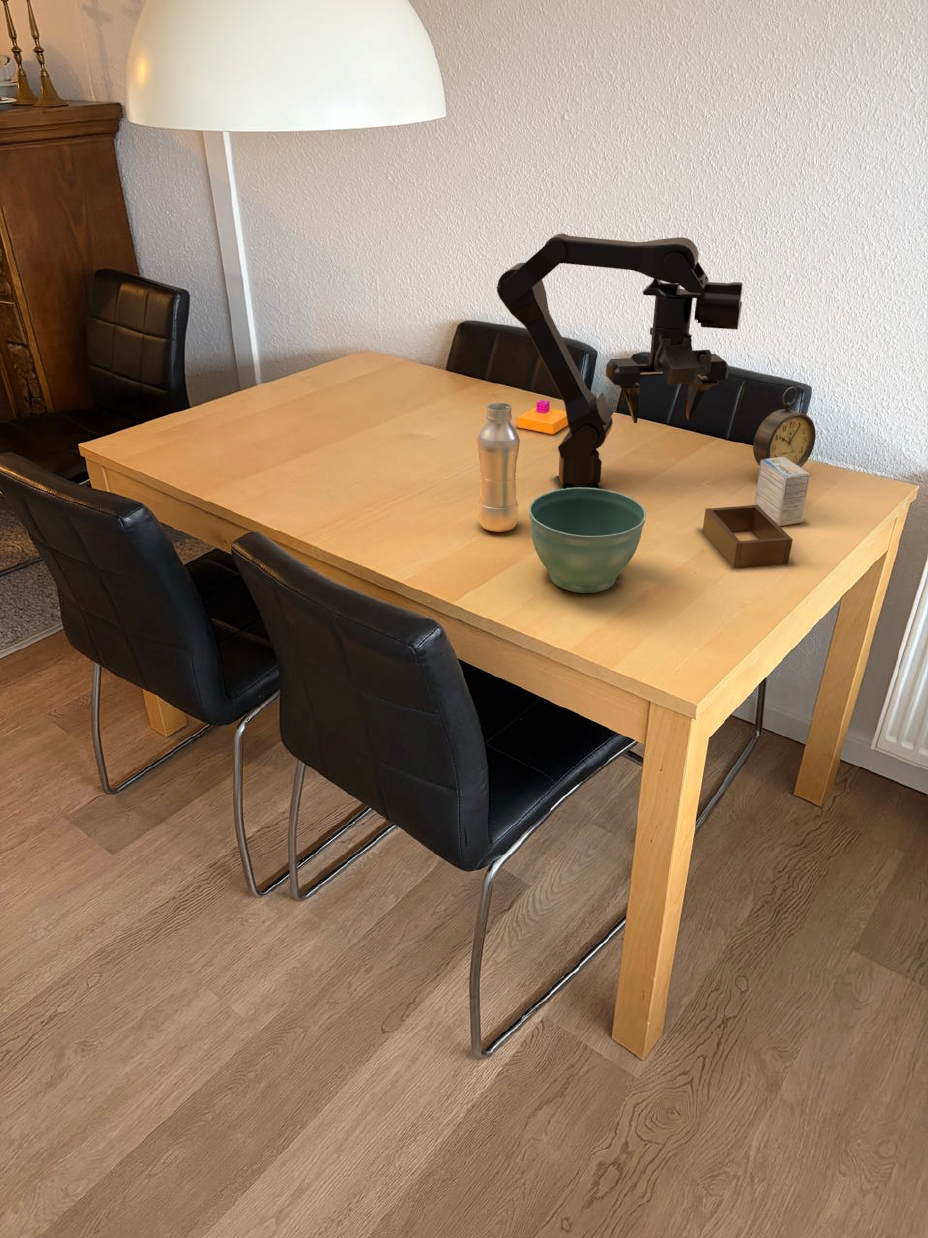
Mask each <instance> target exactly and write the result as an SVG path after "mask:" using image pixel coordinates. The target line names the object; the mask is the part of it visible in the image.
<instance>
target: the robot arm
mask: <svg viewBox="0 0 928 1238" xmlns="http://www.w3.org/2000/svg"><path fill="white" fill-rule="evenodd" d="M699 254H700V253H699V250H698V246H696V244H695V243H694V241H693V240H692V239H689V238H687V237H685V236H684V237H683V236H682V237H681V236H680V237H668V238H667V237H666V238H660V239H659V238H658V239H653V240H646V241H630V240H629V241H628V240H620V239H619V240H618V239H608V238H597V237H586V236H577V235H575V236H574V235H569V234H566V233H557V234H555V235H553V236H552V237H550V238H549V239H548V240H547V241H545V244H544V245H543V246H542V248H539V250H538V251H537V252H535V253H534V255H533V256H531V257H530V258H529V259H528V260H527V261H525V262H519V263H516V264H514V265H512V266H511V267H510V268H509V269H508V270H506V271H505V272H503V273H502V274H501V275H500V277H499V279H498V282H497V286H496V292H497V295H498V298H499V300H500V301H501V302H502V303H503V305H504V307H506V308H507V310H508V311H509V313H510V314H511V315H512V316H513V317H514V318H515V319H516V320H517V321H518V322H519V323H520V324H522V325H523V326H524V327H525V329H526V331H527V333H528V335H529V337H530V339H531V340H532V342H533V345H534V347H535V348H536V350H537V352H538V354H539V356H540V359H541V360H542V362H543V364H544V366H545V368H546V370H547V372H548V374H549V375H550V378H551V380H552V381H553V384H554V386H555V388H556V389H557V392H558V393H559V395H560V398H561V400H562V402H563V403H564V408H565V411H566V416H567V422H568V425H567V426H568V429H569V430H568V431H567V433H566V434H565V436H564V437H563V439H562V440H561V442H560V443H559V445H558V447H557V449H558V453H559V460H558V475H556V476H555V480H556V482H557V483H558V485H559V487H560V489H566V488H578V487H581V488H597V489H601V486H600V483H601V478H602V477H601V476H602V460H601V458H600V452H599V451H598V449H599V448H600V447H602V445H603V444H604V443H605V442H606V439H607V438H608V436H609V434H610V432H611V430H612V428H613V424H614V423H613V417H612V416H613V415H614V411H613V410H612V409H611V408H610V406H609V404H608V403H607V400H606V396H605V394H604V392H600V393H599V394H597V395H595V394H594V393H593V392H592V391H591V390H589V388H588V387H587V385H586V383H585V381H584V379H583V376H582V375H581V372H580V371H579V369H578V367H577V365H576V363H575V361H574V359H573V357H572V355H571V353H570V351H569V349H568V347H567V345H566V343H565V341H564V339H563V337H562V335H561V334H560V331H559V330H558V329H559V328H558V327H557V326H556V323H555V321H554V319H553V317H552V314H551V312H550V310H549V309H550V308H549V302H548V296H547V291H546V287H545V285H544V281H543V279H544V278H545V277H546V276H548V275H549V274H550V273H551V272H552V271H554V269H555V268H557V267H558V266H559V265H560V264H561V265H562V264H567V265H576V266H584V267H585V266H587V267H594V268H595V267H596V268H604V269H605V268H606V269H616V270H625V271H632V272H637V273H640V274H642V275H645V276H646V277H649V278H651V279H652V281H651V282H650V284H648V285H646V286H645V288H644V289H643V290H642V294H643V296H652V297H654V310H653V320H652V327H649V335H650V336H651V342H650V352H648V353H647V361H648V363H637V362H636V360H634V359H632V358H631V357H625V358H623V357H621V358H610V359H609V361H608V362H607V363H606V365H605V366H606V368H605V377H606V378H607V379H608V380H609V381H610V382H611V383H613V385H615V386H618V387H619V388H620V389H621V390H622V391H623V394H624V397H625V400H626V403H627V407H628V409H629V413H630V416H631V420H632V422H633V423H634V424H638V418H639V393H640V390H641V388H642V386H641V385H640V384H639V383H638V382H639V381H640V380H641V377H653V376H654V377H657V376H663V377H664V378H665V379H664V380H665V383H667V384H668V385H670V386H677V385H685V384H686V385H688V387H687V388H688V390H687V399H686V407H685V408H686V409H685V413H686V414H685V415H686V419H687V420H688V421H691V420H692V418H693V416H694V414H695V413H696V410H697V408H698V406H699V405H700V403H701V400H702V398H703V397H704V395H705V394H706V392H707V391H708V390H709V389H711V388H712V387H713V386H717V385H719V384H720V381H725V380H727V379H728V377H729V370H730V369H729V364H728V362H727V361H726V360H725V359H723V358H722V357H721V356H719V355H718V354H716V353H712V352H711V350H710V349H695V350H693V345H692V342H693V339H692V334H691V333H690V329H691V319H692V309H693V301H694V299H696V301H695V307H694V321H697V322H696V323H697V324H700V328H705V329H707V328H710V329H723V330H736V331H737V330H739V326H740V319H741V314H742V309H743V308H742V306H743V301H742V297H743V285H744V284H743V283H742V282H740V281H739V282H738V281H732V282H714V281H709V280H710V278H709V277H708V276H707V273H706V272H705V271H704V269H703V267H702V265H701V263H700V262H699V256H700V255H699ZM681 287H682V288H681Z"/></svg>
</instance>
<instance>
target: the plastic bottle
mask: <svg viewBox="0 0 928 1238" xmlns="http://www.w3.org/2000/svg"><path fill="white" fill-rule="evenodd" d="M485 419H486V420H487V421H486V422H485V424H484V425H483V426H482V427H481V430H480V431H479V432H478V435H477V438H476V439H477V440H476V444H477V451H478V452H477V453H478V459H479V466H480V467H479V468H480V492H479V493H480V494H479V500H478V504H477V511H476V513H477V520H478V523H479V524H480V526H481V527H482V528H483V529H485V530H486V531H490V532H495V533H501V532H502V533H503V532H508V531H511V530H512V529H514V528H515V527H516V526H517V524H518V522H519V518H520V509H519V503H518V502H519V501H518V500H517V488H516V487H517V485H516V477H517V475H516V473H517V463H518V456H519V450H520V444H521V443H520V441H521V440H520V436H519V433H518V432H517V430H516V428H515V427H514V425H513V424H512V423H511V420H512V419H513V415H512V405H511V404H509V403H505V402H491V403H489V404H487V405H486V414H485Z"/></svg>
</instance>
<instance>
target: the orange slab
mask: <svg viewBox="0 0 928 1238" xmlns="http://www.w3.org/2000/svg"><path fill="white" fill-rule="evenodd" d="M550 404H551V401H550V400H545V399H540V400H538V401H537V402H536V403H535V405H536V406H535V407H533V408H531V409H529V410H528V411H525V412H524V413H522V414H521V415H519V416H517V427H518V429H519V428H520V429H525V430H530V431H534V432H539V433H544V434H549V435H554V434H556V433H557V432H559V431H561V430H563V429H564V428H566V427H567V426H568V422H567V416H566V410H560V409H555V408H551V407H550V406H551V405H550Z"/></svg>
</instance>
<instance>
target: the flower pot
mask: <svg viewBox="0 0 928 1238" xmlns="http://www.w3.org/2000/svg"><path fill="white" fill-rule="evenodd" d="M528 513H529V514H528V517H529V520H530V533H531V540H532V544H533V547H534V549H535V552H536V554H537V557H538V558H539V560H540V561H541V564H542V565H543V566H544V567H545V569H546V570H547V571H548V572H549V579H550V581H551V582H552V583H553V584H554V585H555V586H557V587H559V588H560V589H562V590H566V591H569V592H573V593H579V594H580V593H581V594H585V593H586V594H591V593H592V594H594V593H599V592H602V591H606V590H608V589H609V588H611V587H613V585H614V584H615V582H616V580H617V577H618V576H619V575H620V574H621V573H622V572H623V571H624V570H625V569H626V567H627V566H628V565H629V563H630V562H631V560H632V559H633V557H634V555H635V553H636V551H637V549H638V546H639V543H640V541H641V537H642V532H643V528H644V525H645V522H646V517H647V512H646V510H645V508H644V506H643V505H642V504H641V503H640V502H639V501H637V500H635V499H634V498H632V497H630V496H628V495H626V494H623V493H621V492H617V491H612V490H609V489H604V488H600V489H597V488H581V487H578V488H566V489H562V488H559V489H554V490H551V491H548V492H546V493H543V494H540V495H538V496H537V497H536V498H534V499H533V500H532V501H531V503H530V504H529V507H528Z"/></svg>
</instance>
